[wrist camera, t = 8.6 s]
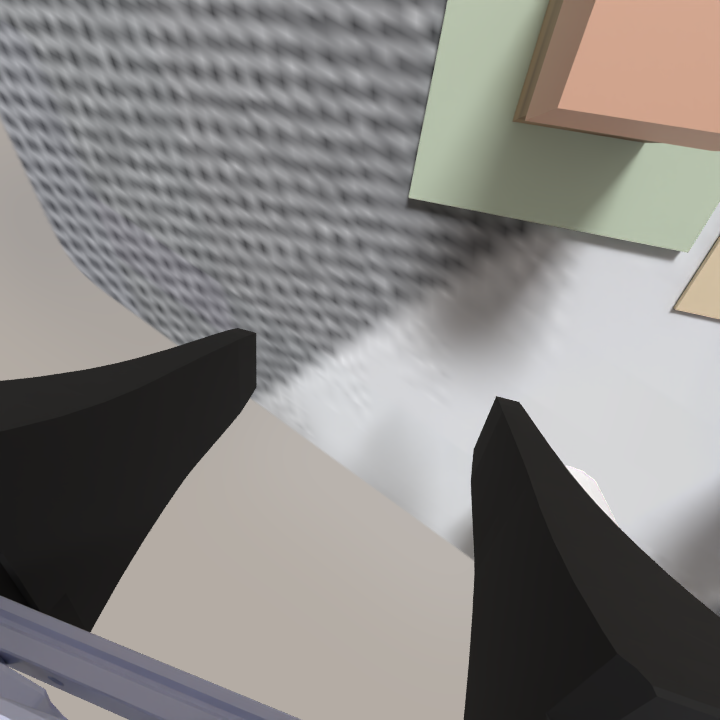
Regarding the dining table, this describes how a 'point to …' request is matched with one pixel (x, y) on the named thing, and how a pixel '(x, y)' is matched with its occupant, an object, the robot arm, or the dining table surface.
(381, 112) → the dining table surface
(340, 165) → the dining table surface
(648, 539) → the dining table surface
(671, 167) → the plate
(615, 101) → the terracotta block
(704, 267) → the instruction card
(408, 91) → the dining table surface
